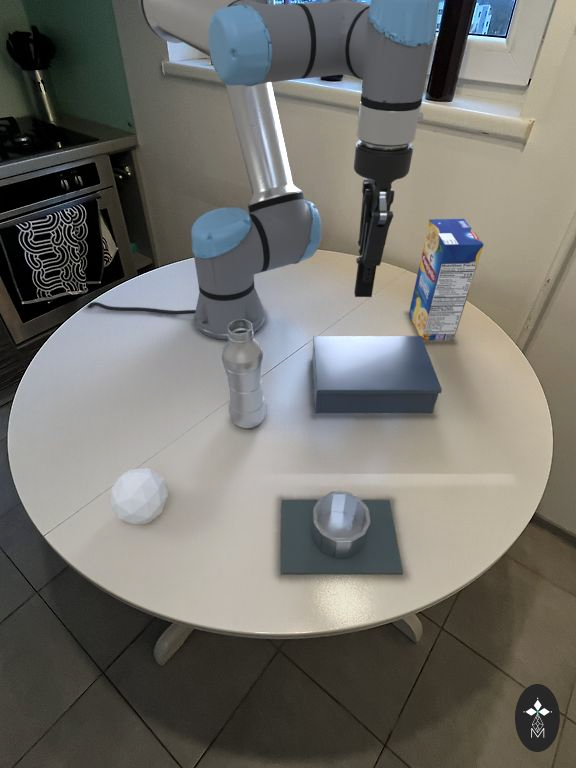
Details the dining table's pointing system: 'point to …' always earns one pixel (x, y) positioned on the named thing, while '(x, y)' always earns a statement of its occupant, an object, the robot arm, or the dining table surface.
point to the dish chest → (372, 401)
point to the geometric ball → (138, 496)
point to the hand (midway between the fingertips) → (362, 294)
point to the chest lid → (373, 365)
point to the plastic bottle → (244, 375)
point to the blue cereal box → (444, 277)
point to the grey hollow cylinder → (340, 524)
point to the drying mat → (308, 559)
